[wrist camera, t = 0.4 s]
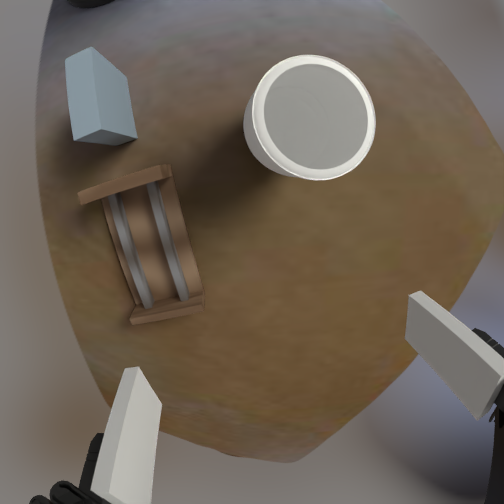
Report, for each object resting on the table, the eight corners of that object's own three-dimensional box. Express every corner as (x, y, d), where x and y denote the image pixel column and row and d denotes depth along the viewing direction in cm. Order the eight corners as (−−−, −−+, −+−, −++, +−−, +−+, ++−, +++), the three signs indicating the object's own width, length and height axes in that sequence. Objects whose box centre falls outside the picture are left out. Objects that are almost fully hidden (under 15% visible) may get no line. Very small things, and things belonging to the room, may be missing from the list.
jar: (259, 81, 31) (287, 33, 17) (329, 117, 33) (392, 98, 19) (223, 152, 33) (227, 144, 19) (296, 186, 36) (345, 203, 22)
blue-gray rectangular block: (106, 85, 28) (65, 59, 17) (126, 77, 28) (91, 46, 17) (116, 145, 31) (73, 140, 20) (137, 138, 31) (101, 129, 20)
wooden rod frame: (100, 186, 32) (77, 192, 26) (170, 164, 33) (159, 164, 26) (140, 307, 38) (128, 333, 32) (205, 293, 39) (203, 319, 32)
